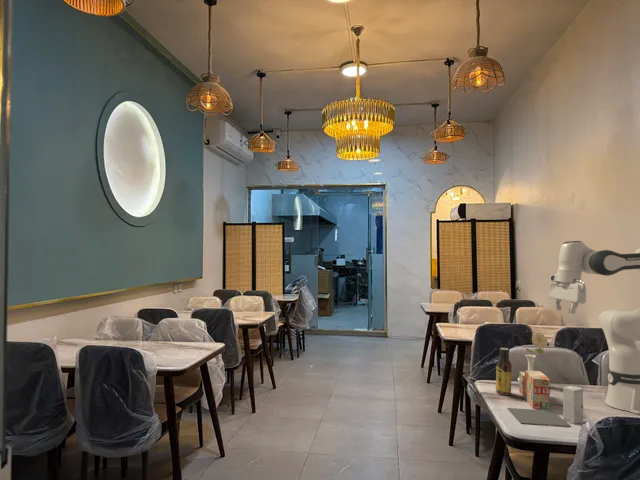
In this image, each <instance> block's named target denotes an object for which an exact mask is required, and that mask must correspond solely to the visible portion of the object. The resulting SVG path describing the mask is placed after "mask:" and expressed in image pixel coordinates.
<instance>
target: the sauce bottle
mask: <svg viewBox="0 0 640 480" xmlns="http://www.w3.org/2000/svg"><path fill="white" fill-rule="evenodd" d="M498 351H499V357H498V361H497V362H496V367H495V369H496V372H495V392H496V394H498V395H500V396H501V395H502V396H511V394H512V393H511V392H512V375H513V374H512V372H513V371H512V363H511V361H510V349H509V348H507V347H500V348H499V350H498Z"/></svg>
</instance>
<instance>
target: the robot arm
mask: <svg viewBox="0 0 640 480" xmlns="http://www.w3.org/2000/svg"><path fill="white" fill-rule="evenodd" d="M626 270H627V271H628V270H638V272H639V271H640V247H639V248H637V249H636V250H635V252H633V253H618V252H616V251H613V250H610V249H609V250H608V249H603V250H594V249H592V248H590V247H588V246H587V245H586V244H585V243H584V242H583V241H581V240H572V241H571V240H570V241H564V242H563V243H562V244H561V246H560V249H559V254H558V267H557V270H556V272H557V273H554V274H552V275H550V276H549V281H550V282H549V286H548V297H549V298H550V299H553V300H554V302H553V303H554V305H555V310H556V311H562V307H563V306H561V302H562V301H566V302H570V305H571V307H570V308H569V309H568V313H569V314H573V315H574V314H576V310H577V308H578V307H579V304H580V305H581V304H585V303H586V301H587V288H586V284H585V282H584V281H583V280H582V273H584V274H590V275H601V276H607V277H608V276H613V275H615V274H617V273H619V272H621V271H626ZM597 320H598V321H597V322H598V324H599V327H600V328H601V329H602V331H603V333H604V336H605V339H606V343H607V347H608V359H609V360H608V361H609V363H608V366H609V367H608V369H607V382H608V385H607V392H606V397H605V399H604V403H605V404H606V405H607V406H609V407H611V408H615V409H618V410H621V411H622V410H623V411H624V412H625V411H626V412H630V413H633V414H635V415H637V414H638V415H640V349H639V348H638V346H637V343H636V341H637V342H640V307H638V308H636V309H635V310H630V311H629V310H621V309H616V308H613V309H606V310H603V311H602V312H600V314H599V315H598V319H597Z"/></svg>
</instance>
